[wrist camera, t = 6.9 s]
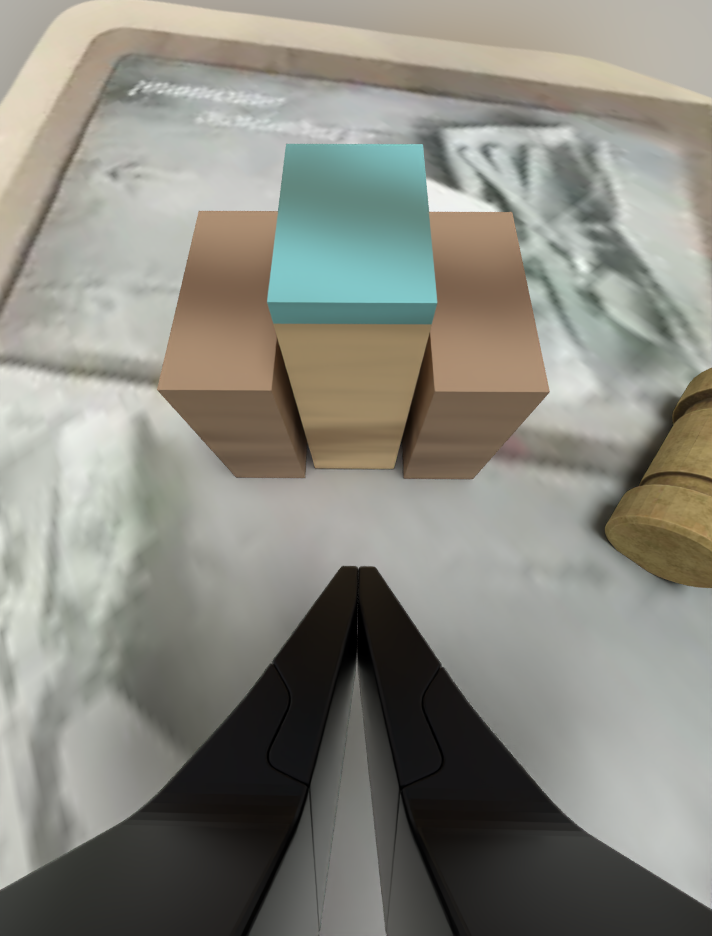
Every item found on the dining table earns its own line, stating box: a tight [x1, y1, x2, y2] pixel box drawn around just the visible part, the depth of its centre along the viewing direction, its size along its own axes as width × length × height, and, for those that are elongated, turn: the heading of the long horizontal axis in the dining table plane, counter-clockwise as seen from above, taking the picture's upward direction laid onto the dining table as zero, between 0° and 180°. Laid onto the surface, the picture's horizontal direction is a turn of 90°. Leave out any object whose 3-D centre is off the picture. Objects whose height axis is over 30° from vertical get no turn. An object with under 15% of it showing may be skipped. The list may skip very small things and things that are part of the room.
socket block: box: [157, 211, 550, 479], centre depth 17 cm, size 8×12×8 cm, turn 89°
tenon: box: [267, 144, 437, 469], centre depth 15 cm, size 6×4×11 cm, turn 179°
